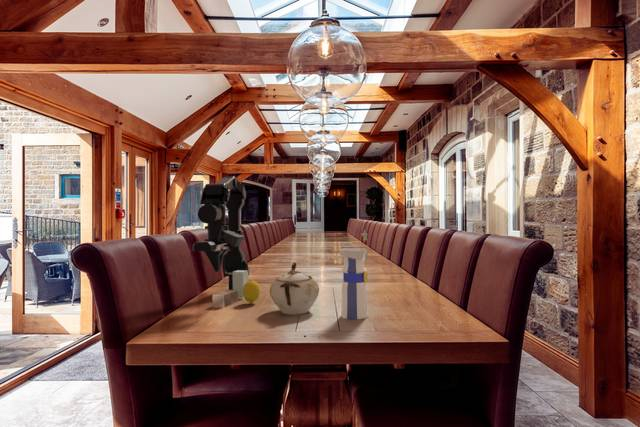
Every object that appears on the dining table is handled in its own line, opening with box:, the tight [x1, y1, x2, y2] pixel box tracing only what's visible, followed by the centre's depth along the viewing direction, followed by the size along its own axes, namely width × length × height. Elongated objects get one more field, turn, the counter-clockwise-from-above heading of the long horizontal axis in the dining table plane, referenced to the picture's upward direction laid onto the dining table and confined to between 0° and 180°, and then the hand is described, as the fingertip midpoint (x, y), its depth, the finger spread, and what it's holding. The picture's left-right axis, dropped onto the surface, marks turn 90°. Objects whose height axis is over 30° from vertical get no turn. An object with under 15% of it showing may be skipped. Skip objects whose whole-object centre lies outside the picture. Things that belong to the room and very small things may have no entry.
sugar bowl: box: [269, 262, 320, 316], centre depth 133 cm, size 20×15×15 cm
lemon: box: [243, 279, 261, 304], centre depth 145 cm, size 6×6×8 cm
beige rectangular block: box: [212, 289, 239, 309], centre depth 145 cm, size 4×4×10 cm
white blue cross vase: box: [339, 229, 369, 320], centre depth 127 cm, size 8×9×25 cm
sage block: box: [233, 270, 249, 300], centre depth 155 cm, size 4×4×10 cm
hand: (217, 271), depth 140 cm, fingers closed
